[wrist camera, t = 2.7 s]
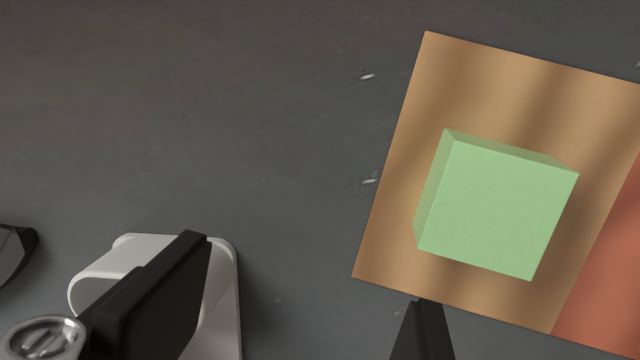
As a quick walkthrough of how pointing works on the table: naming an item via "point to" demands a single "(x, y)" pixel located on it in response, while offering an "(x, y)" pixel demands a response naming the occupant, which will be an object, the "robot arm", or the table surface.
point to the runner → (535, 135)
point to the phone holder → (217, 304)
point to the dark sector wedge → (14, 251)
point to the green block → (491, 204)
